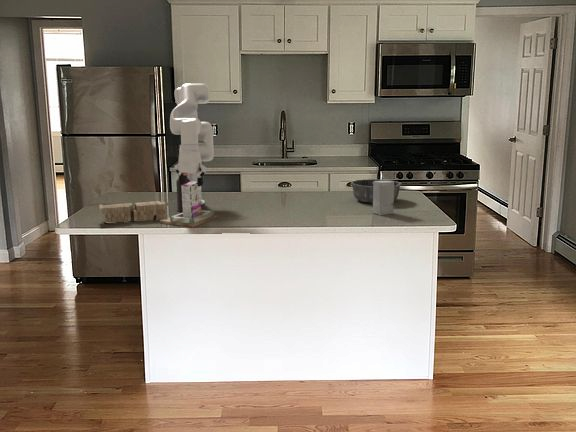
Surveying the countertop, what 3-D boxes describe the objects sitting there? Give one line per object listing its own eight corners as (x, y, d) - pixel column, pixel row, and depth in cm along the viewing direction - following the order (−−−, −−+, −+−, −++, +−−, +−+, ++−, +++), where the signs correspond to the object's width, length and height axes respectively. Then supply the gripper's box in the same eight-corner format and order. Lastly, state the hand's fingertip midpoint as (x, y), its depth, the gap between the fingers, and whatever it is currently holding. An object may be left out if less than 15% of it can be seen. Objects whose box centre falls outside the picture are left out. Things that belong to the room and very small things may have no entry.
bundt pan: (370, 194, 352) (371, 176, 350) (410, 200, 334) (411, 182, 331) (340, 201, 334) (340, 182, 331) (380, 208, 315) (381, 188, 313)
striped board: (159, 223, 284) (159, 216, 283) (185, 214, 302) (184, 208, 301) (193, 227, 277) (192, 219, 276) (217, 217, 294) (216, 211, 293)
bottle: (185, 212, 307) (183, 172, 302) (174, 210, 310) (172, 170, 306) (194, 209, 312) (192, 170, 308) (183, 208, 316) (182, 169, 312)
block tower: (162, 218, 300) (99, 221, 289) (162, 200, 298) (99, 203, 287) (166, 221, 293) (101, 224, 282) (165, 203, 291) (100, 206, 280)
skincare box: (380, 215, 298) (381, 182, 294) (371, 212, 304) (372, 180, 300) (394, 213, 301) (395, 181, 298) (385, 211, 308) (386, 179, 304)
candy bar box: (191, 215, 294) (190, 181, 291) (201, 216, 293) (200, 181, 289) (182, 220, 284) (180, 185, 280) (192, 221, 282) (191, 185, 279)
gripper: (169, 147, 281) (170, 184, 286) (201, 150, 274) (202, 188, 279) (178, 145, 288) (180, 181, 292) (210, 147, 281) (211, 185, 285)
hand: (191, 184), depth 285 cm, fingers open, 9 cm apart
